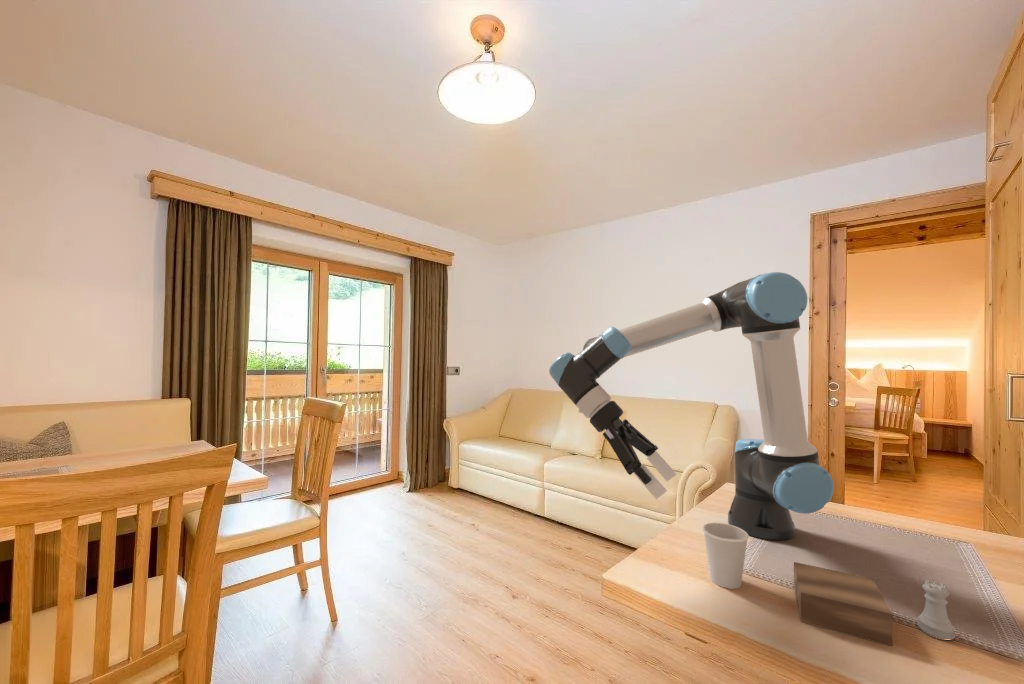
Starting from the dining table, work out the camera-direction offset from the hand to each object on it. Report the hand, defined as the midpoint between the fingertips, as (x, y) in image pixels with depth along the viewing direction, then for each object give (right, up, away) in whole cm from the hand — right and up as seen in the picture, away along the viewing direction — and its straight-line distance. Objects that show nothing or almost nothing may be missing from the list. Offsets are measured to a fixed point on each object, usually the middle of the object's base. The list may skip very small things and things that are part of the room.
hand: (667, 486), depth 91 cm
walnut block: (+24, -17, -16) cm, 34 cm away
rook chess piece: (+37, -17, -21) cm, 46 cm away
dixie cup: (+10, -17, -6) cm, 21 cm away
